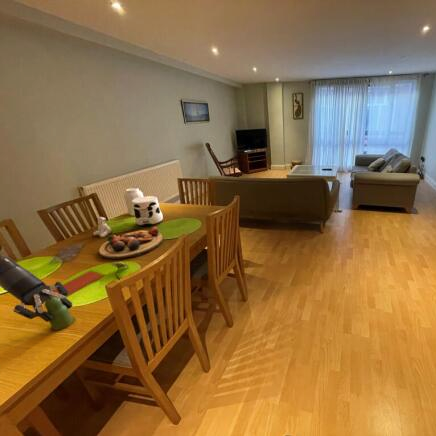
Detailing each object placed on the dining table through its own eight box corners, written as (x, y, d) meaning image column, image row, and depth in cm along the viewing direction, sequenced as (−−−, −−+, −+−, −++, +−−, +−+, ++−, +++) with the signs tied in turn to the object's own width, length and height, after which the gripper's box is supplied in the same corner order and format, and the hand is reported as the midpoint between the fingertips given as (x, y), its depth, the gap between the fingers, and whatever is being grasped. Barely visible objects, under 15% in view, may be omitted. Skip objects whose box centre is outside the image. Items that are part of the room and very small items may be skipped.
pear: (58, 331, 84) (44, 302, 79) (48, 327, 86) (34, 299, 81) (76, 320, 89) (64, 292, 84) (66, 316, 91) (54, 288, 86)
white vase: (151, 211, 195) (145, 187, 188) (138, 216, 184) (131, 191, 176) (138, 209, 198) (132, 186, 191) (125, 215, 187) (118, 190, 180)
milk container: (156, 216, 184) (150, 194, 178) (168, 221, 175) (163, 198, 168) (132, 224, 171) (125, 200, 164) (143, 230, 162) (137, 204, 155)
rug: (49, 264, 124) (48, 262, 123) (63, 247, 140) (62, 246, 140) (73, 259, 128) (72, 258, 127) (84, 244, 144) (83, 242, 144)
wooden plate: (159, 229, 163) (157, 218, 159) (166, 249, 138) (163, 236, 135) (101, 242, 146) (97, 229, 143) (97, 266, 122) (92, 252, 119)
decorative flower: (124, 267, 108) (111, 256, 117) (115, 280, 107) (103, 268, 115) (140, 272, 114) (127, 261, 123) (132, 284, 113) (119, 273, 121)
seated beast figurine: (92, 235, 155) (86, 218, 150) (106, 230, 162) (101, 213, 157) (102, 238, 151) (95, 220, 147) (115, 232, 158) (110, 215, 154)
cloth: (57, 301, 98) (56, 301, 98) (42, 296, 101) (41, 295, 101) (104, 275, 115) (103, 275, 115) (90, 271, 118) (89, 271, 118)
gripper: (-5, 290, 75) (42, 324, 77) (46, 265, 88) (85, 294, 90) (-10, 302, 77) (35, 334, 80) (40, 275, 90) (78, 304, 93)
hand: (61, 313), depth 85 cm, fingers closed on pear, 5 cm apart
